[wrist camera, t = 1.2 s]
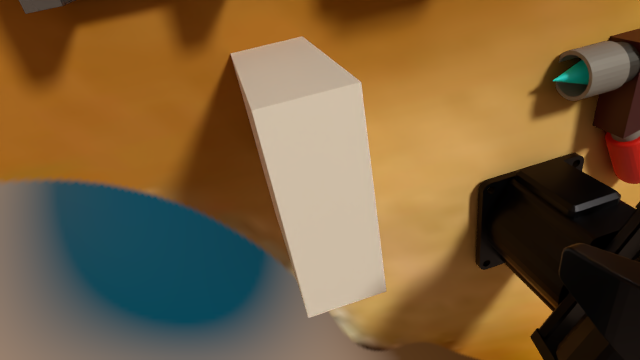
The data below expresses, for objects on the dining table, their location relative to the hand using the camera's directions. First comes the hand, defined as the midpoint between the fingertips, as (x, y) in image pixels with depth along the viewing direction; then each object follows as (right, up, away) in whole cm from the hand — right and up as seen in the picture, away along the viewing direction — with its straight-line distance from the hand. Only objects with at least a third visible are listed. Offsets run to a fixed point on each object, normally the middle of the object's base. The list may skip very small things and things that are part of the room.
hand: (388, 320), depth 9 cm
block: (-3, +5, +10) cm, 11 cm away
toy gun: (+16, +8, +15) cm, 23 cm away
